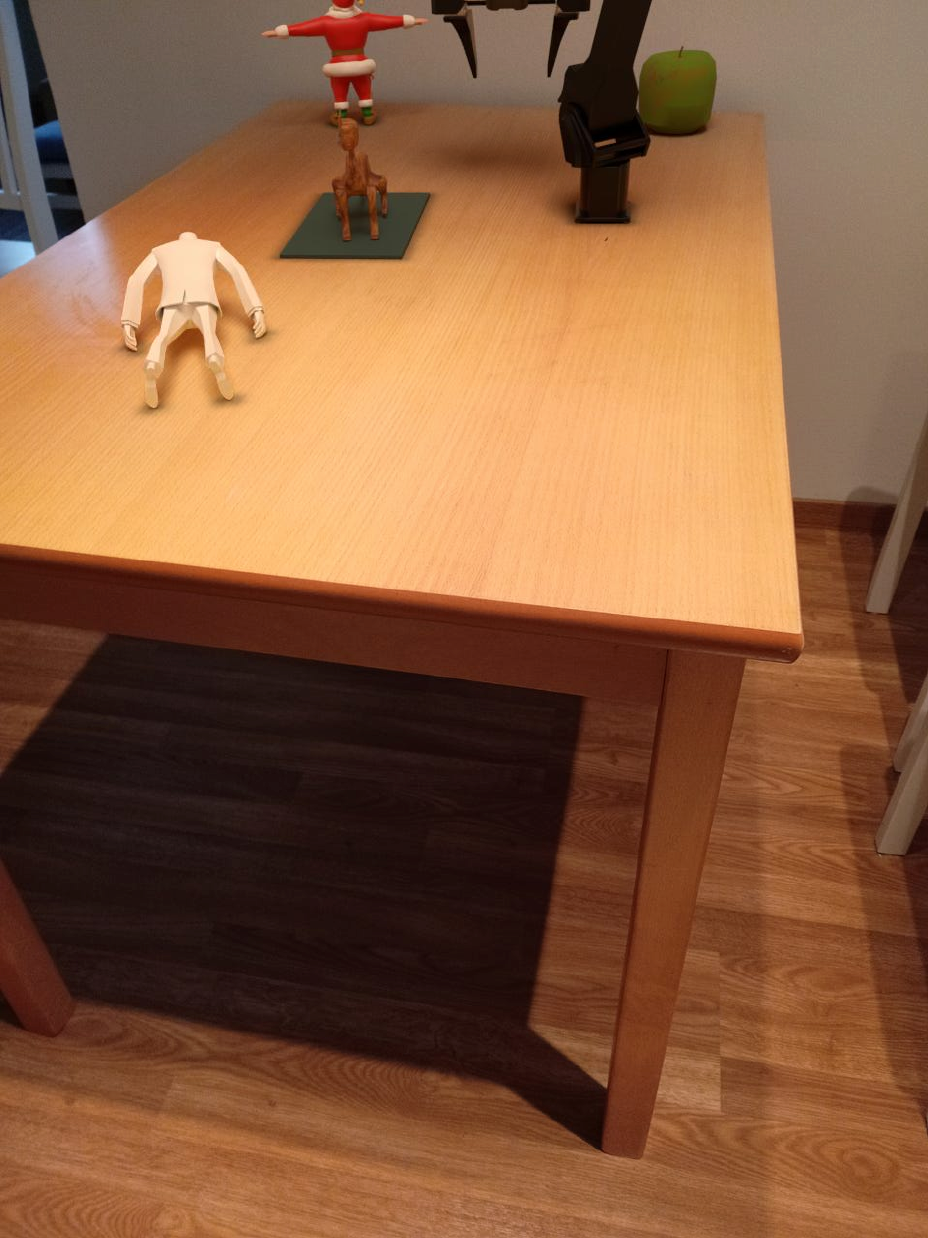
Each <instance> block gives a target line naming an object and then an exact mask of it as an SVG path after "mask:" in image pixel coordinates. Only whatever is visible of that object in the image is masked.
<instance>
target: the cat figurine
mask: <svg viewBox="0 0 928 1238" xmlns="http://www.w3.org/2000/svg"><path fill="white" fill-rule="evenodd" d="M338 124H339V127H337V129H338V130H337V134H338V137H339V138H338V142H337V144H338V145H339V149H340V150H341V149H342V150H343V151H346V152H347V153H348V154H346V155H345V168H344V173H343V174H342V175H340V176H336V177H334V178H333V179H331V188H332V191H333V193H334V199H335V207H336V212H337V216H338V217H340V218H341V221H342V233H343V240H344V241H349V240H351V227H350V217H349V208H348V198H349V197H351V196H361V197H364V196H366V198H367V200H368V209H369V219H370V232H371V239H378V238H379V230H378V217H377V207H376V194H377V193H380V196H381V206H382V214H383V215H385V214H386V213H387V202H388V199H387V193H388V186H387V185H388V180H387V178H386V176H384V175H383V174H376V173H375V172H372V169H371V165H370V161H369V155H368V154H367V153H365V152H363V151H355V149H356V148H357V147H358V146H359V140H360V137H359V135H360V134H359V125H358V122H357V121H356V120H354V119H353V118H350V117H346V118H341V110H340V108H339V115H338Z"/></svg>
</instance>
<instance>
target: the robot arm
mask: <svg viewBox="0 0 928 1238" xmlns="http://www.w3.org/2000/svg"><path fill="white" fill-rule="evenodd" d="M652 3H653V0H602V3H601V8H600V12H599V15H598V18H597V19H598V20H597V23H596V28H595V30H594V35H593V39H592V44H591V48H590V51H589V54H588V55H587V58H586V59H585V60H584V62H581V63H575V64H570V65H568V66H567V68H566V70H565V72H564V75H563V82H562V83H563V85H562V89H561V92H560V94H559V96H558V98H557V103H559V104H560V105H559V109H558V126H559V132H560V136H561V137H560V139H561V144H562V150H563V155H564V161H565V162H566V163H568V164H570V165H571V168H573V169H580V176H579V179H580V180H579V200H577V201H576V203H575V213H574V221H575V222H578V223H629V222H631V217H632V216H631V215H632V214H631V213H632V211H631V201H630V200H629V186H630V174H631V160H633V159H637V158H644V157H646V156H647V155H648V151H649V147H650V145H651V141H652V139H651V136H650V134H649V132H648V130H647V128H646V126H645V124H644V123H643V122H642V119H641V117H640V115H639V110H638V109H637V106H638V105H637V104H638V101H639V84H638V81H637V77H636V73H635V70H634V66H635V62H636V59H637V55H638V52H639V47H640V44H641V41H642V37H643V34H644V30H645V26H646V23H647V20H648V16H649V12H650V9H651V6H652ZM430 4H431V6H430V7H431V15H435V16H443V15H444V16H443V17H442V20H443V23H444V24H445V23H446V24H447V23H448V24H451V25H452V27H453V29H454V30H455V31H456V33H457V36H458V37H459V40H460V42H461V44H462V47H463V51H464V53H465V58H466V60H467V63H468V66H469V68H470V72H471V75H472V78H473V79H477V78H478V55H477V44H476V35H475V25H474V15H473V9H472V8H470V7H476V6H477V7H480V6H481V7H483V6H484V7H485V8H486V9H487V10H488V11H491V12H498V11H499V10H514V11H523V10H525V9H527V8H528V7H529V6H530V5H533V6H534V5H555V10H554V14H553V18H552V26H551V27H552V28H551V35H550V43H549V50H548V57H547V65H546V66H547V67H546V68H547V69H546V75H547V76H546V77H547V78H548V79H549V78H552V73H553V70H554V66H555V63H556V59H557V56H558V53H559V49H560V47H561V42H562V40H563V38H564V35H565V33H566V30H567V28H568V26H569V24H570V22H571V21H577V20H579V19H580V13H585V12H590V11H591V7H592V6H591V5H592V0H430ZM610 140H615V142H611V143H608V144H603V145H600V146H596V144H599V143H603V142H608V141H610Z"/></svg>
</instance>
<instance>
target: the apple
mask: <svg viewBox="0 0 928 1238" xmlns="http://www.w3.org/2000/svg"><path fill="white" fill-rule="evenodd" d="M717 72H718V71H717V62H716V59H715V58H714V57H713V56H712V55H711V53H709V52H708V51H705V50H703V49H684V45H681V47H680V49H676V50H666V51H662V52H656V53H653V54H651V55H650V56H649V57H648V58H646V60H645V61H644V62H642V65H641V69H640V73H639V77H638V89H639V94H638V113H639V115H640V117H641V119H642V122H643V124H644V125H646V126H647V127H649V128H650V129H651V130H653V131H654V133H655V132H656V133H659V134H663V135H664V134H666V135H683V134H684V135H685V134H692V133H694V132H696V131H697V130H698V129H700V128H701V127H703V126H704V125H705V124H707V123H708V121H709V120H711V117H712V112H713V111H712V110H713V105H714V100H715V93H716V87H717V82H718V81H717V80H718V75H717V74H718V73H717Z"/></svg>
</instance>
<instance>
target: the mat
mask: <svg viewBox="0 0 928 1238" xmlns="http://www.w3.org/2000/svg"><path fill="white" fill-rule="evenodd" d="M430 197H431V192H387V199H388V202H387V213H386V214H385V215H383V214H382V206H381V196H380V193H379V192H377V194H376V207H377V217H378V230H379V238H378V239H371V232H370V219H369V209H368V200H367V198H366V196H364V197H361V196H351V197H349V198H348V208H349V217H350V227H351V240H349V241H344V240H343V233H342V221H341V218H340V217H338V216H337V212H336V207H335V199H334V192H322V194H321V195H320V196H319V197H318V200H317V201H316V202H315V204H314V205H313V207H312V208H311V209H310V210H309V212H308V213H307V215H306V216H305V217H304V219H303V220H302V222H301V224H299V226H298V228H297V229H296V230H295V232H294V234H292V236H291V237H290V239H289V240H288V242H287V243H286V245H285V246H284V247H283V249H282V250H281V252H280V253H279V258H280V259H365V260H366V259H368V260H369V259H372V260H375V259H378V260H379V259H381V260H382V259H383V260H384V259H386V260H402V259H403V257H404V255H405V253H406V250H407V248H408V246H409V244H410V242H411V240H412V237H413V235H414V233H415V231H416V228H417V226H418V224H419V221H420V219H421V217H422V216H423V213H424V210H425V208H426V206H427V204H428V201H429V199H430Z"/></svg>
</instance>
